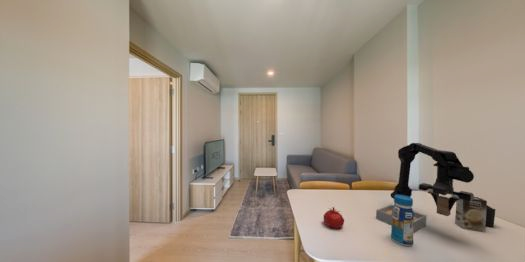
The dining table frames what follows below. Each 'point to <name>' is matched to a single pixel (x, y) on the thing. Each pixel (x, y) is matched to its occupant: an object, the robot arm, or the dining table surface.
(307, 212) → the dining table surface
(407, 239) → the beverage bottle
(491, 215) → the pen holder
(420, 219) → the box
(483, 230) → the coffee box
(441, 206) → the walnut peg
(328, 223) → the pomegranate
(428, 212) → the dining table surface
